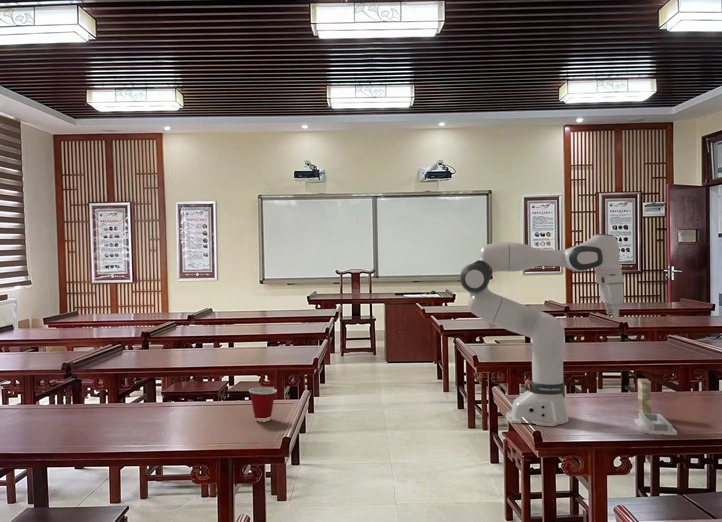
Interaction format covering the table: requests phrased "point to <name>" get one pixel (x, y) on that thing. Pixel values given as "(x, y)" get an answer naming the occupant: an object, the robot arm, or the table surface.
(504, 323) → the robot arm
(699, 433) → the table surface
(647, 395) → the tan wooden block
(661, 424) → the floor track
